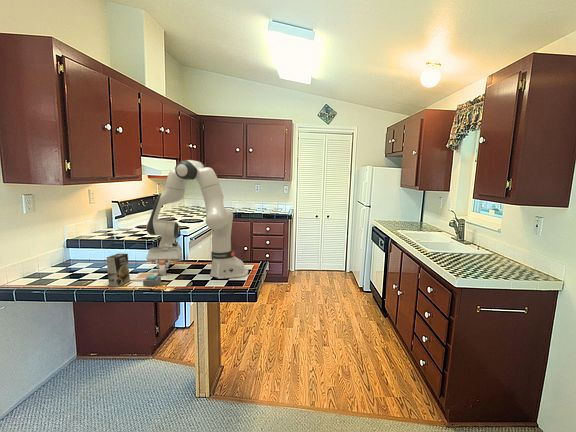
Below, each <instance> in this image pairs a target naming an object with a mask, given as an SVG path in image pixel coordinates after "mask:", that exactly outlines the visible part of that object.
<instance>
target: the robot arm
mask: <svg viewBox="0 0 576 432" xmlns="http://www.w3.org/2000/svg"><path fill="white" fill-rule="evenodd" d="M189 180H196V181H197V183H198V184H199V187H200V192H201V193H202V197H203V201H204V206H205V207H204V208H205V215H206V217H205V224H206V226H207V227H208V228H209V229H210V230H212V236H211V253H210V257H211V268H210V269H211V270H210V273H209V275H210V276H211V277H214V278H216V279H219V280H220V279H223V280H224V279H230V278H231V279H232V278H243V277H244V278H245V277H246V276H248V274H249V268H246V267H245V264H244V262H243V260H241V259H240V258H238V257H236V256H235V255H236V254H235V250H232V242H231V241H232V240H231V238H232V237H231V236H232V230H233V229H232V228H233V227H232V226H233V220H234V212H233V211H232V209H229V208H227V207H225V205H224V194H223V191H222V187H221V184H220V181H219V179H218V176H217V174H216V172H215V171H214V169H213V168H212V167H209V166H208V167H206V165H205V163H203V162H202V161H200V160H193V159H187V160H185V159H184V160H181V161H179V162H178V163H176V165H175V167H174V168H172V169H171V170H169V172H168V175H167V178H166V181H165V187H164V190H163V191H162V192H161V193H159V194H158V196H157V197H156V199H155V201H154V202H155V203H154V205H153V208H152V210H151V214H150V217H149V219H148V221H147V223H146V227H145V229H146V232H147V234H149V235H150V236H159V237H160V236H161V237H160V238H161V239H160V240H159V241H160V242H159V245H158V246H157V247H151V248H149V249H148V252H147V255H146V261H147V262H148V263H155V264H156V266H155V267H156V268H157V269H159V260H165V262H166V264H165V268H166V269H169V266H170V265H171V263H172V262H173V263H174V262H181V261H182V260H183V252H182V251H183V250H182V246H181V245H180V244H179V243H176V240H177V239H178V237H179V234H180V229H181V228H180V224H179V223H178V222H177V221H173V220H165V219H159V215H160V212H161V210H162V207H163V206H164V205H168V204H172V203H177V202H179V201H182V199H183V198H184V195H185V192H186V187H187V182H188V181H189Z"/></svg>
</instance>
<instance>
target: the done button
mask: <svg viewBox="0 0 576 432" xmlns="http://www.w3.org/2000/svg"><path fill="white" fill-rule="evenodd" d="M148 279H149V280H155V279H156V276H155V275H150V276H148Z"/></svg>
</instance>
